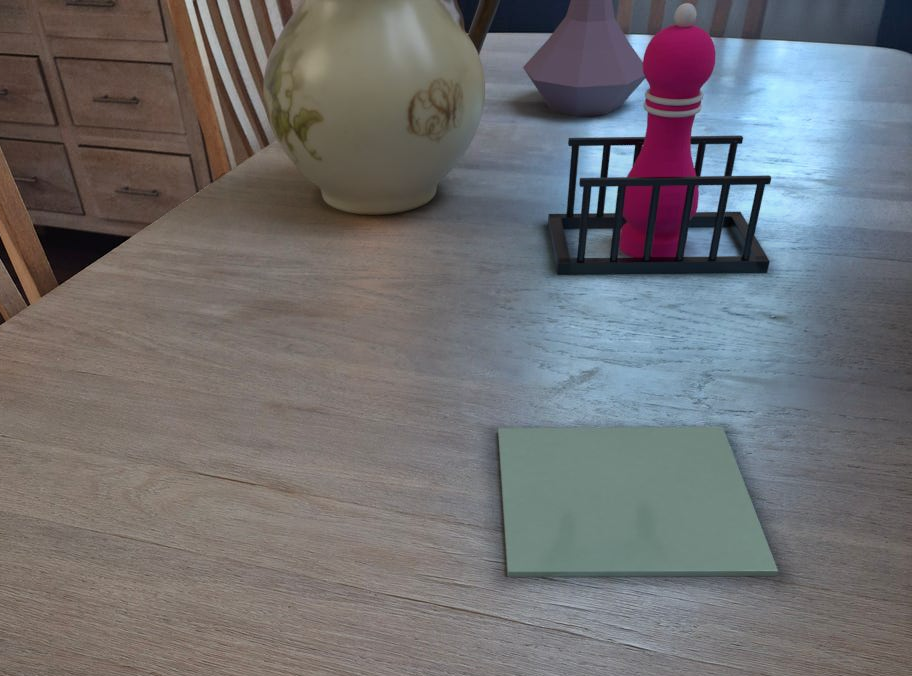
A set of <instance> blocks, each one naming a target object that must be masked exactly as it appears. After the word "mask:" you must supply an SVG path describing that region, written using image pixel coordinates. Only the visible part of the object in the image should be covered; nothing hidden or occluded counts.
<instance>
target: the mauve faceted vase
mask: <svg viewBox="0 0 912 676" xmlns="http://www.w3.org/2000/svg"><path fill="white" fill-rule="evenodd" d="M522 68H523V70H524V71H525V73H526V75H527V77H529V80H531V82H532V84H533V85H534V86H535V88H536V90H537V92H538V93H539V94H540V96H541V97H542V99H543V101H544V102H545V103H546V105H547V107H549V108H550V110H551V111H552V112H553V113H556V114H561V115H565V116H572V117H578V118H579V117H596V116H607V115H608V114H610V113H613V112H614V111H616V110H618V109H620V108H621V107H622V105H623V104H624V103H625V102H626V101H627V100H628V98H629V97H630V96H631V95H632V94H633V93H634V92H635V91H636V90H637V88H639V86H640V85H641V84H642V83H643V82H644V81H645V80H646V78H645V76H644V74H643V59H641V58H640V56H639V55H638V53H637V51H635V49H634V47H633V46H632V45H631V43H630V42H629V39H628V38H627V36H626V34H625V33H624V31H623V30H622V28H621V26H620V24H619V23H618V21H617V19H616V17H615V11H614V3H613V0H570V2H569V6H568V9H567V12H566V15H565V16H564V18H563V19H562V20H561V22H560V23H559V25H558V26H556V28H555V29H554V30H553V32H552V33H551V35H550V36H549V37H548V39H547V40H546V41H545V42H544V43H543V44H542V45H541V46H540V48H539V49H538V50H537V51H536V52H535V53H534V55H532V56H531V58H530V59H529V60H528V61H527V62H526V63H525V64H524V65H523V66H522Z"/></svg>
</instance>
